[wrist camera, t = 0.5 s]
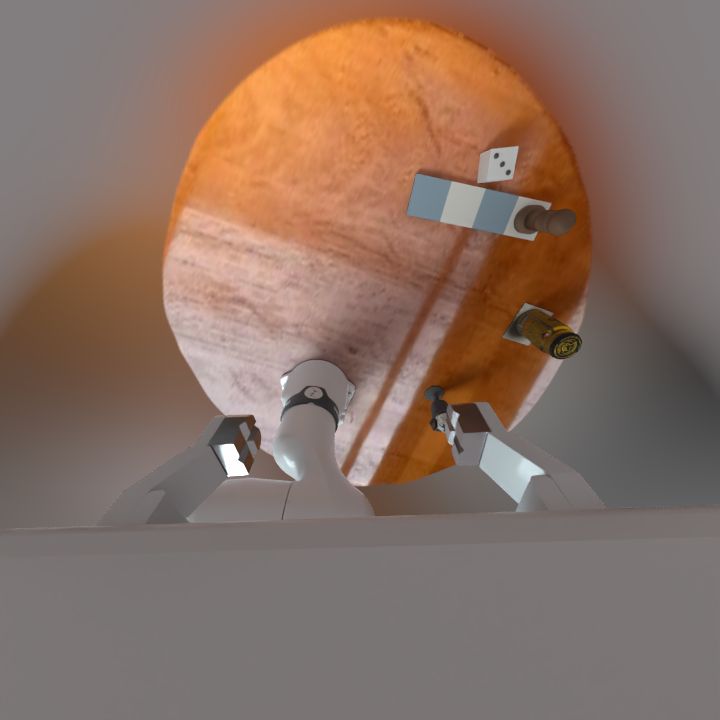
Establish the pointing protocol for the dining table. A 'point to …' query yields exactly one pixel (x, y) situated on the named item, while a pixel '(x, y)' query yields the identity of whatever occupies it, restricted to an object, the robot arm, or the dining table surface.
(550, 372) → the dining table surface
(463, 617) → the robot arm
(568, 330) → the condiment
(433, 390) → the sundae
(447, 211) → the board
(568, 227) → the pawn
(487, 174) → the die
